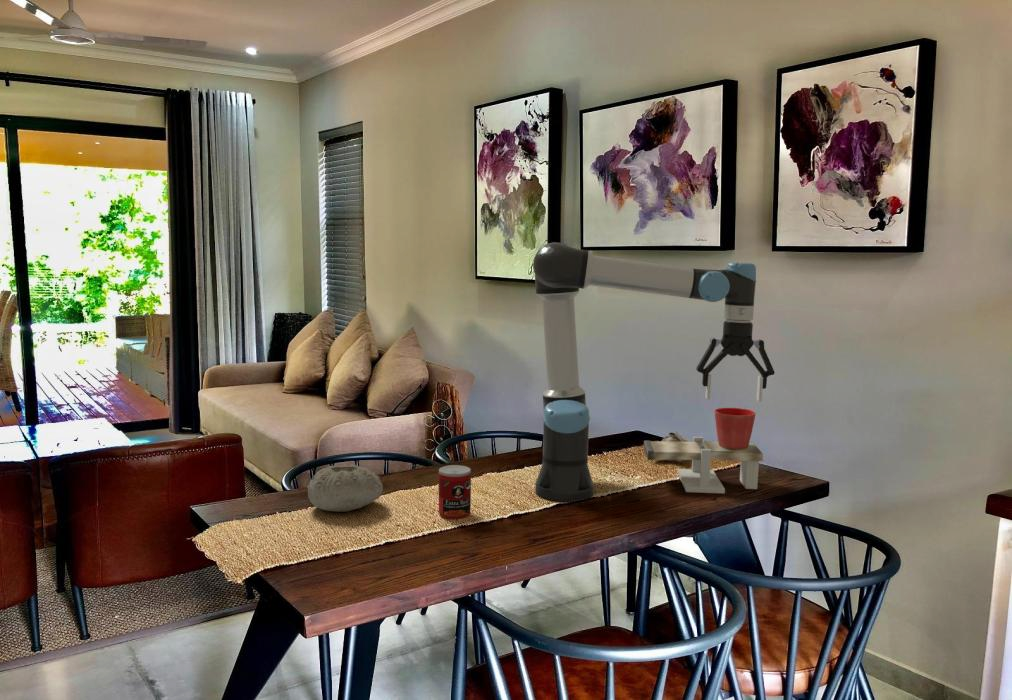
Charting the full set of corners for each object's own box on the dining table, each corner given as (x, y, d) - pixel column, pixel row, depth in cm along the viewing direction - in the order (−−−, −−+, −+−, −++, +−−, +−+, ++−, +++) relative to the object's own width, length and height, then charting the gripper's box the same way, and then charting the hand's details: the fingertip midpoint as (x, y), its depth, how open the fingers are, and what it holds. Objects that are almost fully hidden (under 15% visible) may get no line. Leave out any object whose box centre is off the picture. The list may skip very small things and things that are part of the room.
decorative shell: (329, 493, 209) (329, 455, 208) (394, 499, 204) (393, 460, 203) (294, 515, 192) (293, 473, 190) (363, 522, 187) (363, 480, 186)
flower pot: (749, 441, 226) (750, 407, 224) (757, 451, 215) (759, 415, 214) (710, 441, 227) (711, 406, 225) (716, 450, 216) (717, 415, 215)
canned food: (441, 520, 189) (442, 475, 188) (435, 510, 197) (435, 465, 195) (473, 518, 191) (474, 473, 190) (466, 507, 199) (467, 464, 197)
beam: (647, 460, 217) (648, 450, 217) (643, 448, 229) (644, 439, 229) (762, 461, 215) (763, 452, 214) (752, 450, 227) (752, 441, 226)
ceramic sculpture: (693, 428, 250) (684, 441, 237) (693, 455, 252) (683, 470, 238) (659, 425, 254) (648, 438, 241) (658, 451, 256) (647, 466, 242)
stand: (686, 491, 214) (688, 450, 213) (677, 472, 232) (678, 434, 231) (761, 494, 213) (764, 453, 211) (746, 475, 231) (749, 437, 229)
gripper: (692, 320, 214) (688, 400, 216) (789, 324, 212) (784, 404, 215) (688, 318, 221) (684, 394, 224) (782, 321, 219) (776, 398, 222)
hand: (733, 399), depth 219 cm, fingers open, 13 cm apart
